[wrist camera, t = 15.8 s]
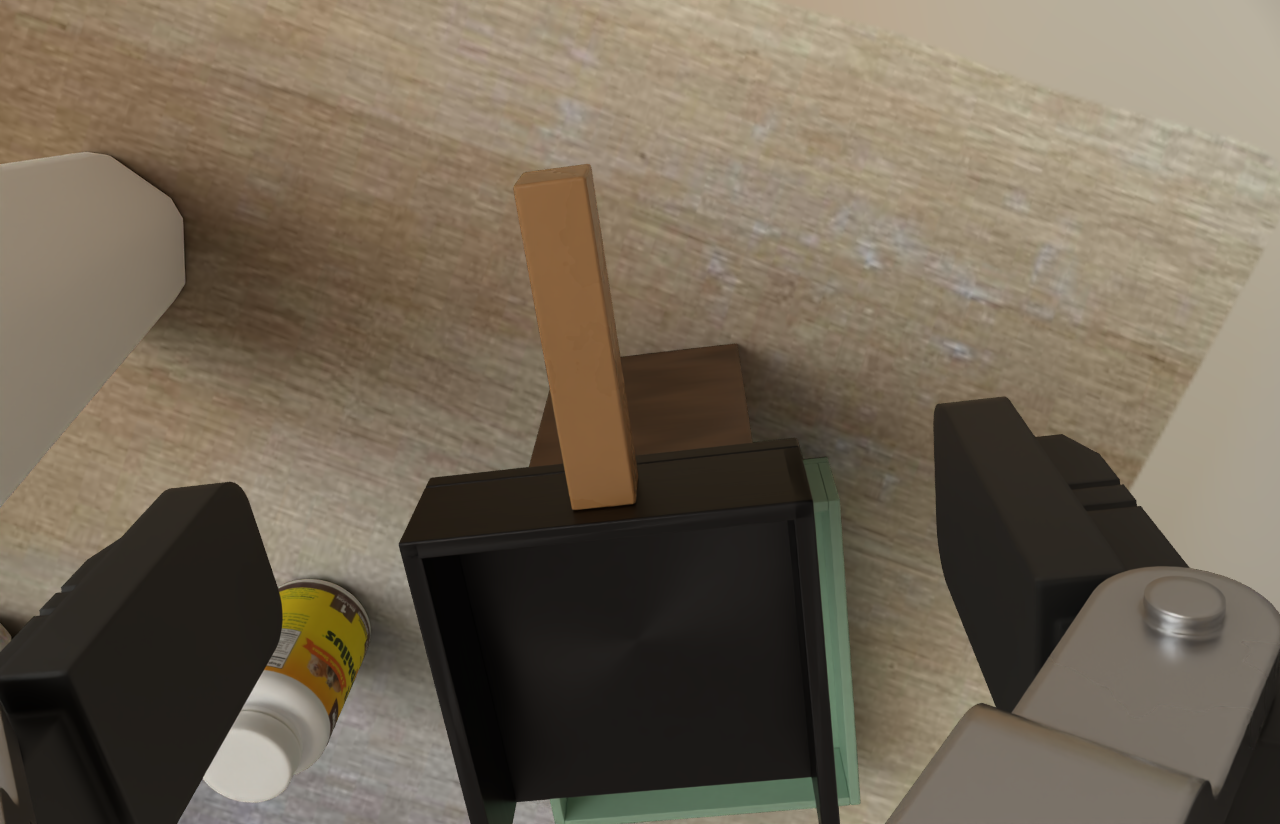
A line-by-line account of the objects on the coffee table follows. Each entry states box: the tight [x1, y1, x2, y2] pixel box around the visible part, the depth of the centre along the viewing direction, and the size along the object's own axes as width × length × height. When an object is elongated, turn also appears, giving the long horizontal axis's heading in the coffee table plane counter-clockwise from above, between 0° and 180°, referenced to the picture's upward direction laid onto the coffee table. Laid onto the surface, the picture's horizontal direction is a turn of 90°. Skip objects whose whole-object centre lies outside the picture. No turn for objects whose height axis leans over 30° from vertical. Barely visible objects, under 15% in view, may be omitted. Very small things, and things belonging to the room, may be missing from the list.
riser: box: [529, 344, 753, 467], centre depth 39 cm, size 8×4×18 cm, turn 98°
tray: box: [550, 457, 860, 824], centre depth 50 cm, size 15×17×4 cm
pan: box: [399, 164, 840, 824], centre depth 27 cm, size 10×19×4 cm, turn 8°
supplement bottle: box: [203, 579, 371, 802], centre depth 48 cm, size 6×6×10 cm
